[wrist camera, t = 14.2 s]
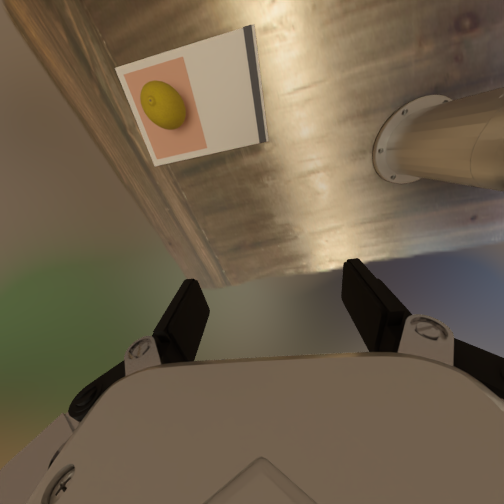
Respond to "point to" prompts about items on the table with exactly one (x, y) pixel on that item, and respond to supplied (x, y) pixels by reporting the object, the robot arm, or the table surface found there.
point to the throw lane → (203, 96)
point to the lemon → (163, 105)
